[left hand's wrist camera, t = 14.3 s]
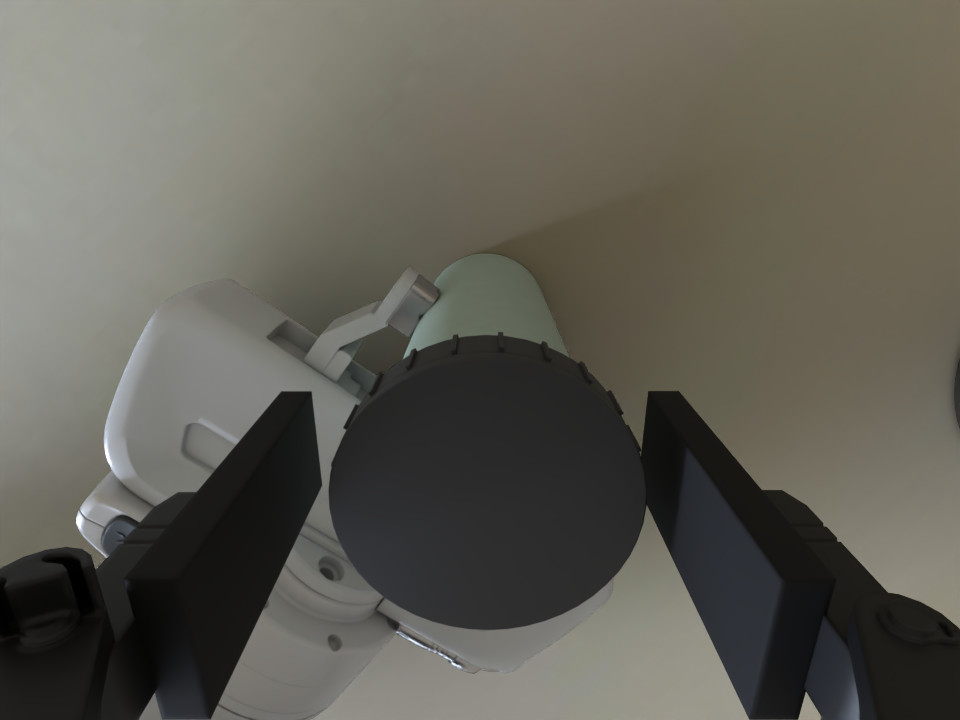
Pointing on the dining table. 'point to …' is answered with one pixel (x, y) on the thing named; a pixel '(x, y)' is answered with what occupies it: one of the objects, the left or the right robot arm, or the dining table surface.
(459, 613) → the lid
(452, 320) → the jar
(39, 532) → the dining table surface
